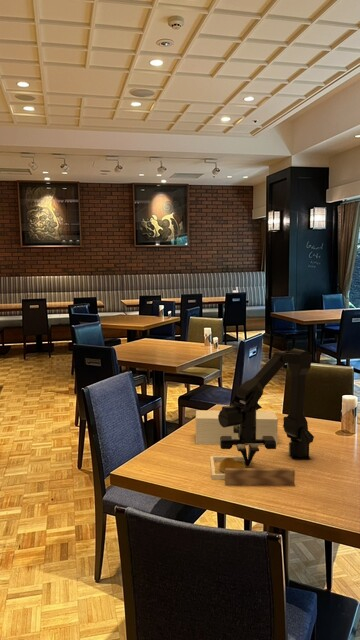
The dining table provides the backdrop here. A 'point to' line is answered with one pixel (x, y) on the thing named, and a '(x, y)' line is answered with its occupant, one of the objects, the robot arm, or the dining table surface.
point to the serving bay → (221, 458)
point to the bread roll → (230, 464)
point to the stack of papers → (212, 430)
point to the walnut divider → (260, 476)
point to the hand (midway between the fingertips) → (247, 466)
